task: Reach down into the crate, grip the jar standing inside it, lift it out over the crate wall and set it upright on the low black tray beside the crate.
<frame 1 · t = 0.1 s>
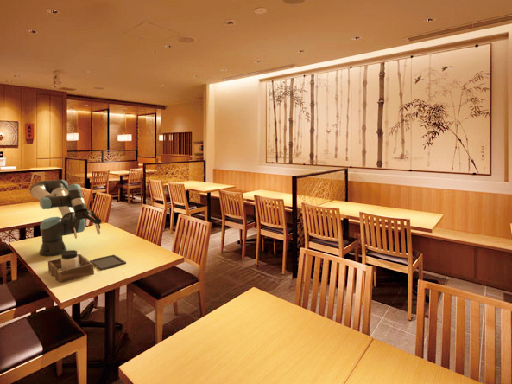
hand: (88, 235, 207), 15 cm above the table, tool tilted 35°, fingers open, 13 cm apart
crate: (70, 272, 188), on the table
jar: (70, 272, 188), resting in crate
tray: (108, 262, 203), on the table
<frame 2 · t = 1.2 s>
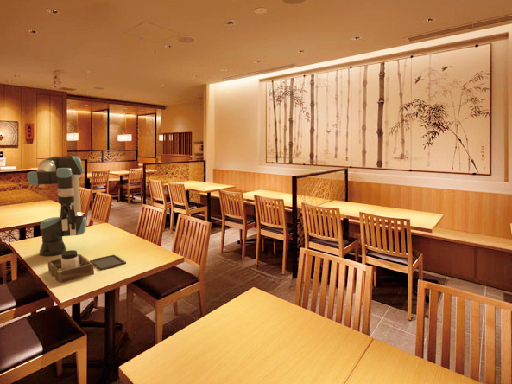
hand: (69, 232, 185), 23 cm above the table, tool pointing down, fingers open, 13 cm apart
nothing on the table moved.
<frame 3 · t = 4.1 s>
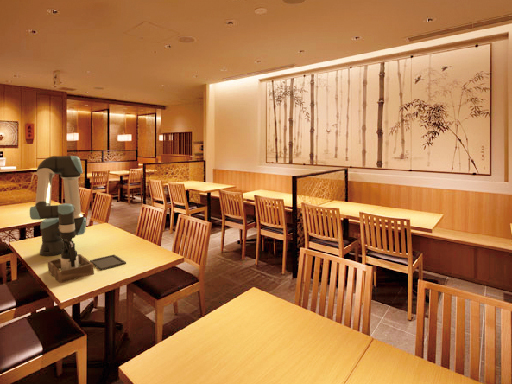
hand: (70, 269, 187), 2 cm above the table, tool pointing down, fingers closed on jar, 7 cm apart
jar: (70, 272, 188), resting in crate, touching gripper
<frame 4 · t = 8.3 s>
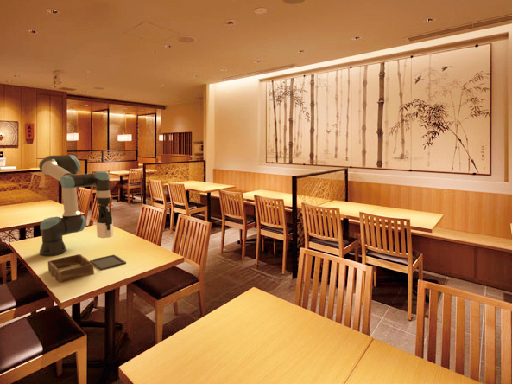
hand: (106, 233, 200), 19 cm above the table, tool pointing down, fingers closed on jar, 7 cm apart
jar: (105, 236, 201), point 17 cm above the table, touching gripper
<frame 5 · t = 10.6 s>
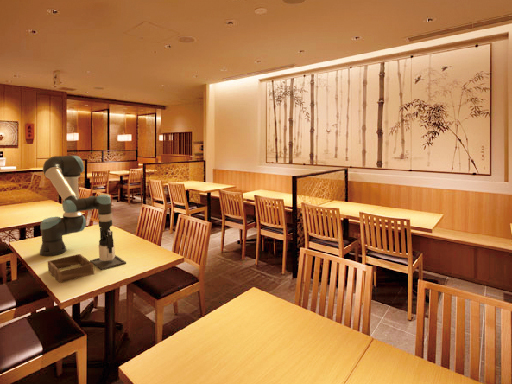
hand: (107, 256, 202), 4 cm above the table, tool pointing down, fingers closed on jar, 7 cm apart
jar: (107, 258, 203), point 2 cm above the table, touching gripper
when the fingers open (2 cm above the table, at t = 12.3 s): jar stays where it is, resting on tray.
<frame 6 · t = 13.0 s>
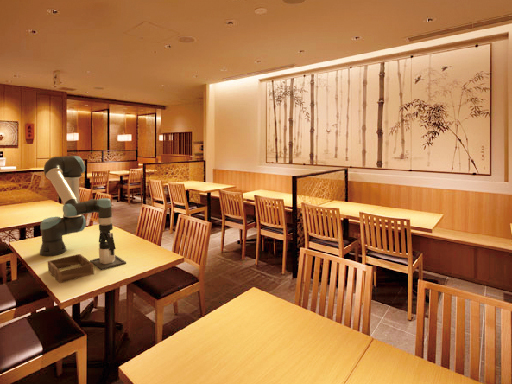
hand: (107, 256, 202), 4 cm above the table, tool pointing down, fingers open, 13 cm apart
jar: (107, 261, 203), resting on tray
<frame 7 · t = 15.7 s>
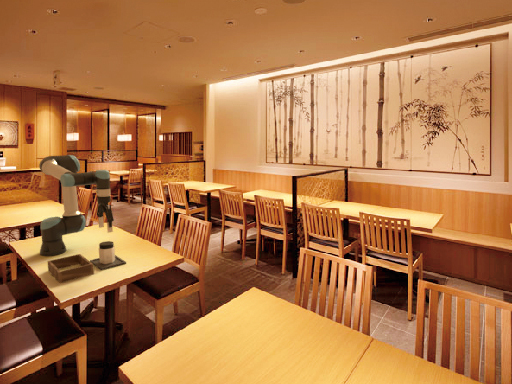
hand: (105, 229, 200), 21 cm above the table, tool pointing down, fingers open, 13 cm apart
nothing on the table moved.
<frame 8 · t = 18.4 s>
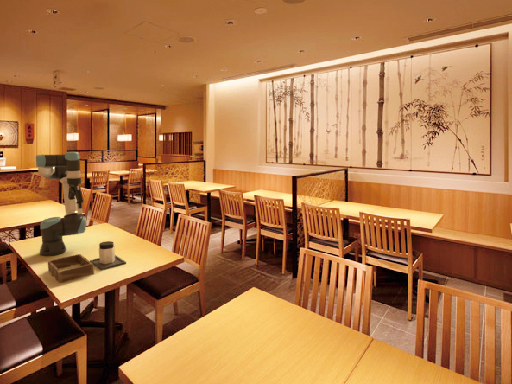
hand: (76, 211, 201), 32 cm above the table, tool pointing down, fingers open, 13 cm apart
nothing on the table moved.
at the end: jar inside the target area on the tray (0.8 cm from its centre), point 0.4 cm above the tray's base; jar tilted 0°; the gripper is holding nothing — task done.
